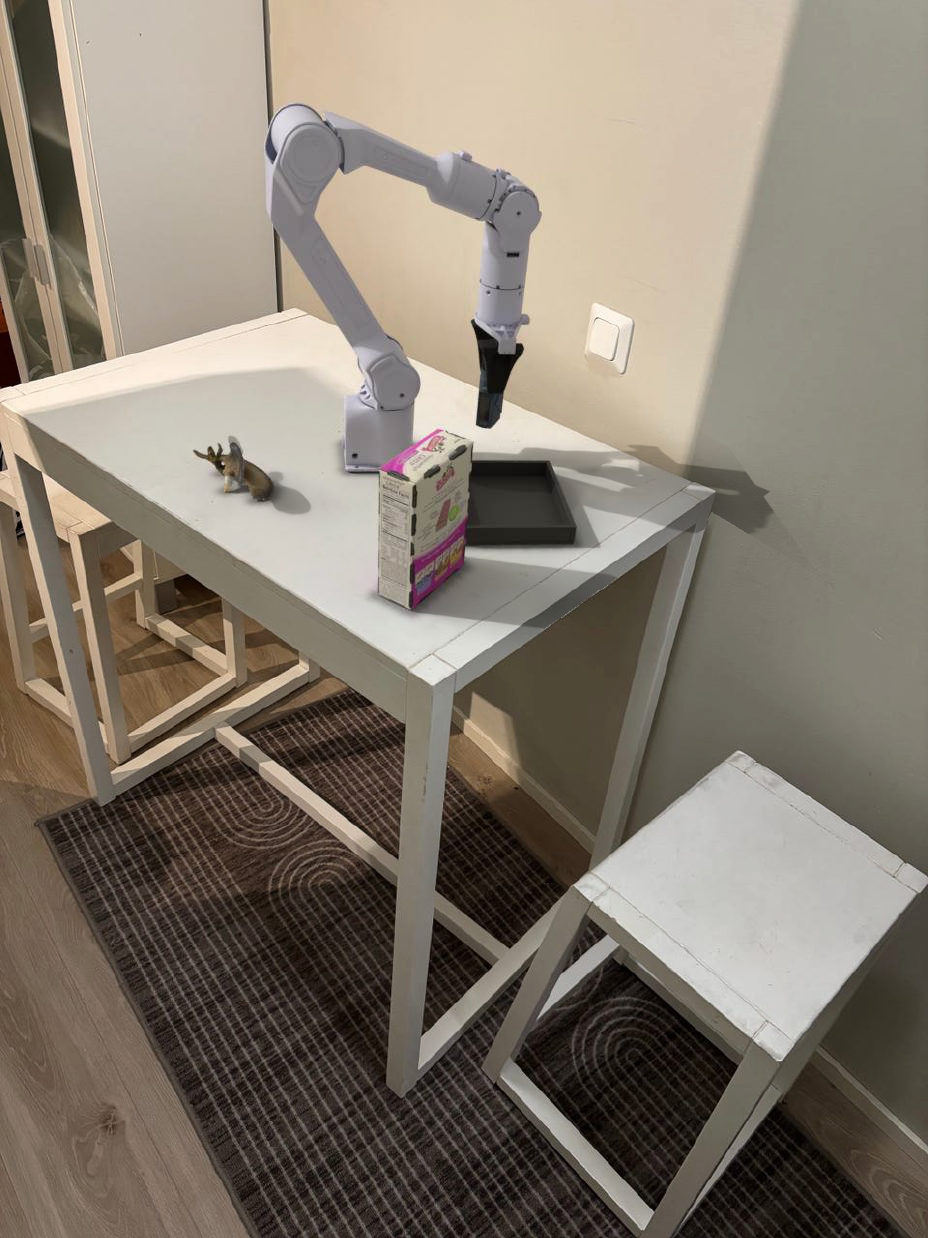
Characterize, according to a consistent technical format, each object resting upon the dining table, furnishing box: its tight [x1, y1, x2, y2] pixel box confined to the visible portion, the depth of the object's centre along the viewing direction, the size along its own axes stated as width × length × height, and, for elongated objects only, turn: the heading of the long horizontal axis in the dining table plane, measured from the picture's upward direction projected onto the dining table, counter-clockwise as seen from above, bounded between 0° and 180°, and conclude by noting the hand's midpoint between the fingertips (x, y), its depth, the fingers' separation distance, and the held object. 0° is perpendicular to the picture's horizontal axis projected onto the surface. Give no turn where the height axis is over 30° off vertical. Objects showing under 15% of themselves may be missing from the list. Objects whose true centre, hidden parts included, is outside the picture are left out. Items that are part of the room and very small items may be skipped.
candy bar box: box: [377, 428, 475, 611], centre depth 104 cm, size 11×5×16 cm, turn 148°
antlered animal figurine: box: [192, 435, 275, 502], centre depth 120 cm, size 8×7×9 cm
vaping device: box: [475, 339, 505, 430], centre depth 128 cm, size 3×5×12 cm, turn 158°
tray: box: [465, 459, 578, 546], centre depth 122 cm, size 14×16×2 cm
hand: (491, 383), depth 128 cm, fingers closed on vaping device, 5 cm apart
